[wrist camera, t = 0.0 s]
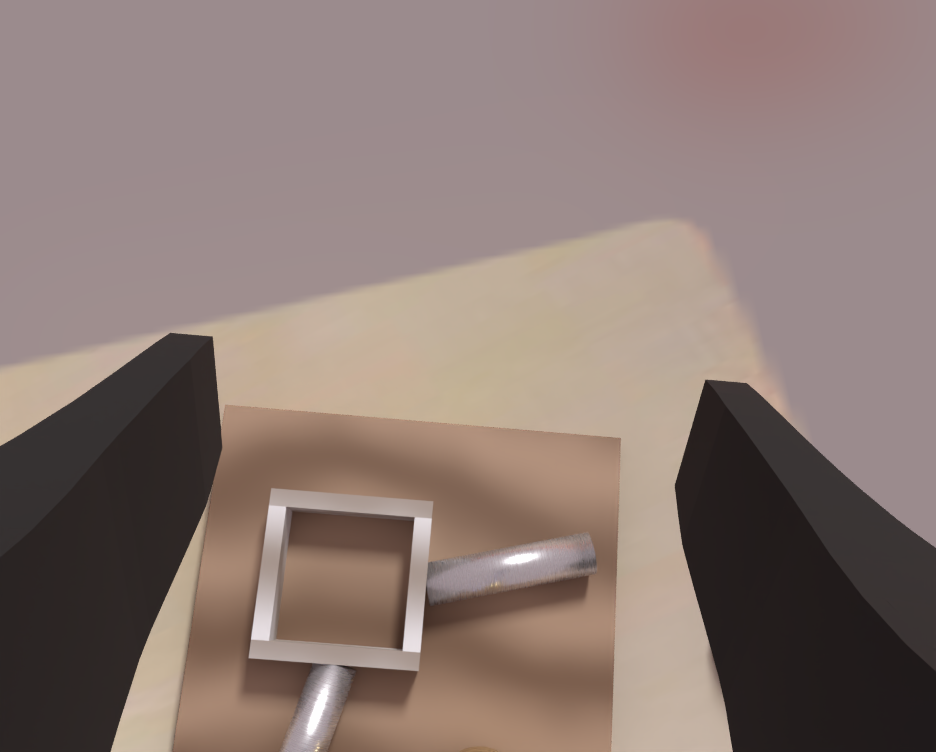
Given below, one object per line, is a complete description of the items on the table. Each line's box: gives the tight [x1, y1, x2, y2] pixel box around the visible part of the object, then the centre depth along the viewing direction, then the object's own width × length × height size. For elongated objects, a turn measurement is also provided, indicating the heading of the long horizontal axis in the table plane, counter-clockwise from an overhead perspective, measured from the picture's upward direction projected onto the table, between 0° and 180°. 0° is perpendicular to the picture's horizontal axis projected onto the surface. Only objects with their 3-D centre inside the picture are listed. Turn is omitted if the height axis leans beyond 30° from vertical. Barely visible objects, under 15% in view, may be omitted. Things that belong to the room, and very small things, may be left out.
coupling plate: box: [173, 405, 621, 752], centre depth 41 cm, size 22×20×4 cm
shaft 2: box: [426, 532, 597, 606], centre depth 42 cm, size 8×2×2 cm, turn 101°
